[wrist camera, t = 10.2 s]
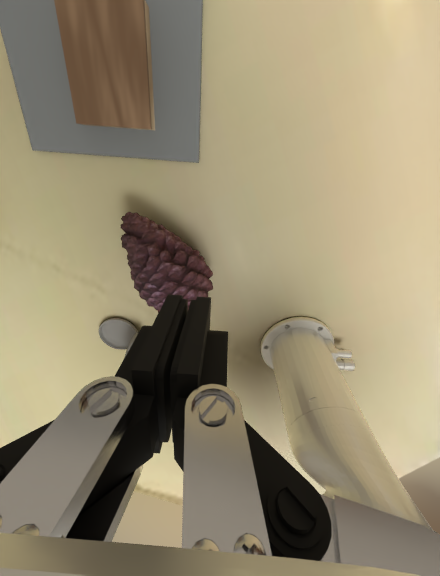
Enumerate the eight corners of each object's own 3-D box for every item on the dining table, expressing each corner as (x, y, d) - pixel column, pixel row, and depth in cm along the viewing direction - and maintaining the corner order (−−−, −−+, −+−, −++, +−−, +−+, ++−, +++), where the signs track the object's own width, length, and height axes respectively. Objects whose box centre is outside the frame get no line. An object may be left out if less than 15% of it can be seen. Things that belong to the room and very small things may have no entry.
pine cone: (112, 218, 34) (74, 242, 26) (175, 185, 32) (156, 198, 23) (177, 314, 42) (165, 358, 33) (231, 293, 40) (233, 333, 31)
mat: (203, -32, 23) (202, -36, 23) (199, 162, 31) (198, 162, 30) (-17, -51, 23) (-22, -55, 22) (35, 150, 30) (32, 150, 30)
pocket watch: (94, 320, 43) (60, 364, 34) (138, 309, 42) (115, 352, 33) (116, 355, 47) (91, 402, 38) (158, 345, 45) (141, 392, 37)
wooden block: (142, -4, 22) (52, -12, 22) (150, 129, 27) (76, 123, 27) (148, 7, 24) (64, 0, 24) (155, 130, 29) (85, 125, 29)
